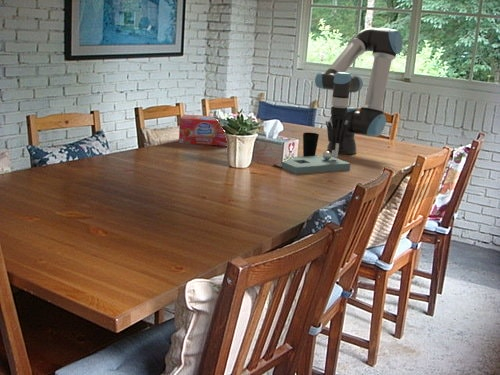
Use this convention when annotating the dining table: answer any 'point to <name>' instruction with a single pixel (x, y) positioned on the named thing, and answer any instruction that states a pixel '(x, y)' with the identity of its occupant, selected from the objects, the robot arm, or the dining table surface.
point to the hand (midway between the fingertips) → (334, 156)
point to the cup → (310, 144)
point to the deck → (314, 164)
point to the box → (201, 130)
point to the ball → (326, 155)
